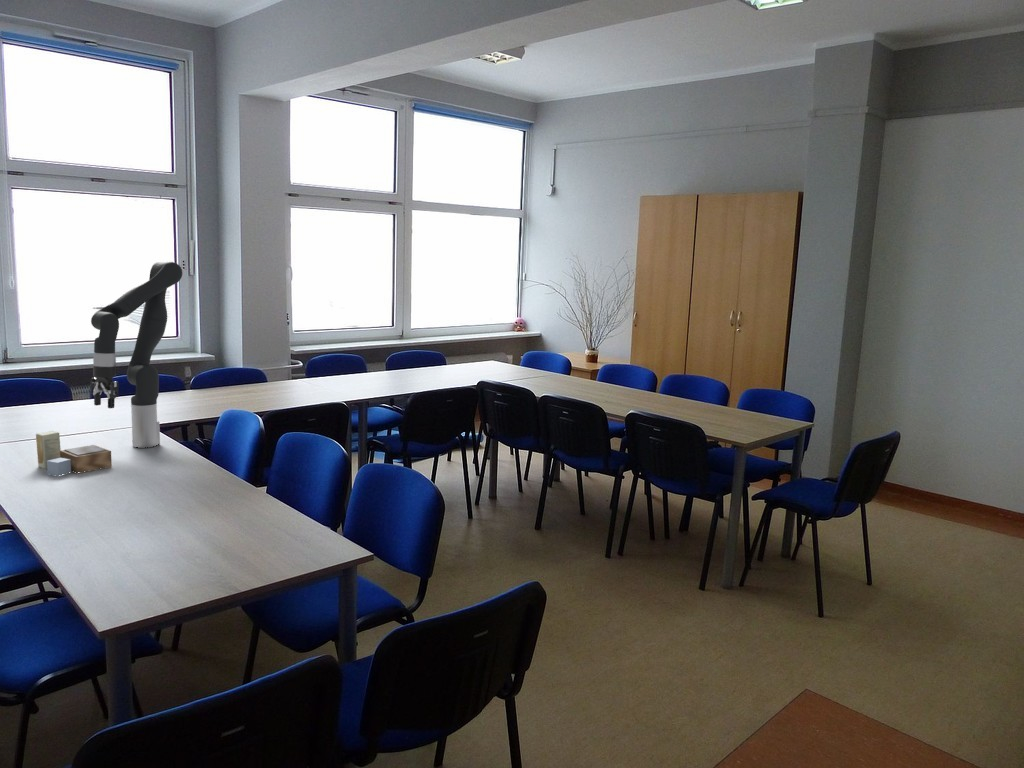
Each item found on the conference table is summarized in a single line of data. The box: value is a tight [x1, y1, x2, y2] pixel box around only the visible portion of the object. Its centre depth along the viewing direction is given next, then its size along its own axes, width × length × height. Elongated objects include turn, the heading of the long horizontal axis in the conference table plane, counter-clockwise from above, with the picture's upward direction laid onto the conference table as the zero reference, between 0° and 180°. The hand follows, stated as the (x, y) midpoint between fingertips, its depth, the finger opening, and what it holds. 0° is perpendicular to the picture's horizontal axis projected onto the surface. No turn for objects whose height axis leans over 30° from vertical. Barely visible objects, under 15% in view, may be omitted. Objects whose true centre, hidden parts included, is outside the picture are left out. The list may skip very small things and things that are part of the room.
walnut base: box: [60, 444, 113, 474], centre depth 271 cm, size 12×12×6 cm
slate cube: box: [46, 458, 72, 477], centre depth 262 cm, size 5×5×5 cm
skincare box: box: [35, 430, 62, 469], centre depth 270 cm, size 6×4×12 cm
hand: (104, 406), depth 288 cm, fingers open, 8 cm apart
